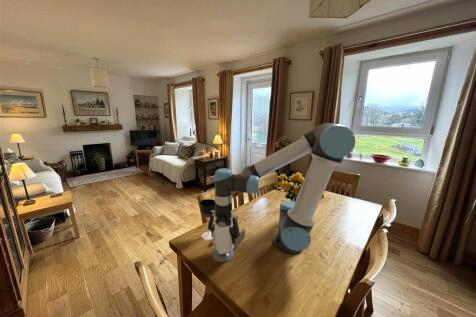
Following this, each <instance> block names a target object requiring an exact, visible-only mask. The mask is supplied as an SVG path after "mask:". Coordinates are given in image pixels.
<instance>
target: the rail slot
mask: <svg viewBox="0 0 476 317" xmlns="http://www.w3.org/2000/svg"><path fill="white" fill-rule="evenodd" d="M239 233H240V236H239V237H238V238H237V239H236V242H235V244H234V248H233V250H234V251H236V249H237V248H239V245H241V243H242V241H243V240H244V239H245V237H246V229H244V228H243V229H242V230H241V231H239Z"/></svg>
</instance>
